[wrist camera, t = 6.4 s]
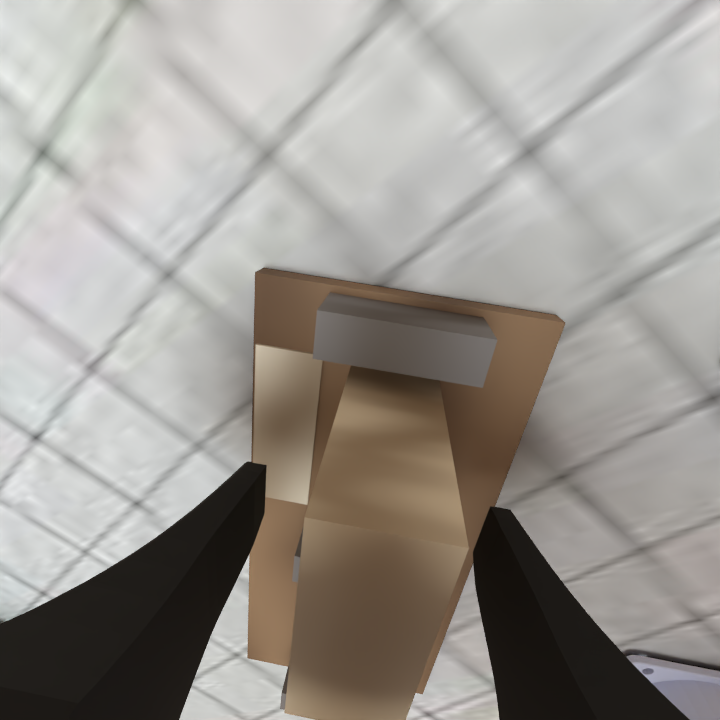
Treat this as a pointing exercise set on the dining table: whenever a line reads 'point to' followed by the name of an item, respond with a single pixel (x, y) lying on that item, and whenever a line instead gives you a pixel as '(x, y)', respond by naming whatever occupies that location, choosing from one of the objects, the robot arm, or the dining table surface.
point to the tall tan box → (376, 552)
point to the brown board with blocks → (323, 394)
